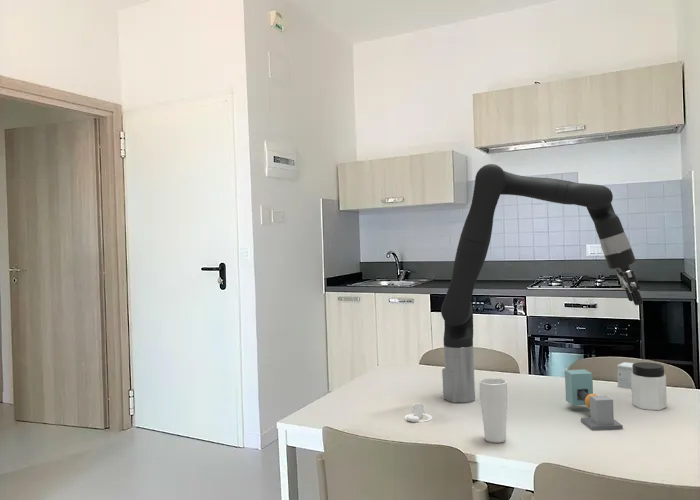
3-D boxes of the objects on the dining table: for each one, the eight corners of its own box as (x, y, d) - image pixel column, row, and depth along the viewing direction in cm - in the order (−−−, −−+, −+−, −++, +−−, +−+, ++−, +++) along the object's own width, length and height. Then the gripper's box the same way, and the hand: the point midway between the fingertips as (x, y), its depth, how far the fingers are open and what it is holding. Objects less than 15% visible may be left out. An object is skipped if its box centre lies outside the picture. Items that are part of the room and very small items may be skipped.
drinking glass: (478, 436, 143) (475, 378, 143) (503, 434, 144) (501, 376, 144) (486, 445, 137) (484, 385, 136) (513, 443, 137) (511, 383, 137)
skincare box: (617, 387, 183) (616, 364, 183) (624, 383, 187) (624, 361, 187) (636, 390, 178) (635, 367, 178) (643, 386, 183) (643, 363, 182)
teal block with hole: (593, 404, 159) (592, 373, 159) (572, 405, 159) (571, 374, 159) (586, 399, 164) (585, 369, 164) (565, 400, 164) (564, 370, 164)
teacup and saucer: (412, 426, 155) (411, 411, 155) (397, 418, 162) (396, 404, 162) (437, 420, 159) (437, 406, 159) (421, 413, 166) (421, 399, 166)
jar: (655, 412, 156) (654, 370, 156) (627, 406, 163) (625, 365, 162) (671, 406, 161) (670, 365, 161) (643, 400, 168) (642, 360, 167)
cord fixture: (622, 429, 144) (621, 400, 144) (592, 430, 144) (591, 401, 144) (585, 403, 167) (584, 378, 167) (558, 404, 167) (558, 379, 167)
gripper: (600, 253, 171) (618, 302, 170) (607, 255, 157) (627, 309, 157) (626, 245, 169) (644, 295, 168) (635, 247, 155) (655, 302, 154)
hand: (636, 302), depth 162 cm, fingers open, 8 cm apart
